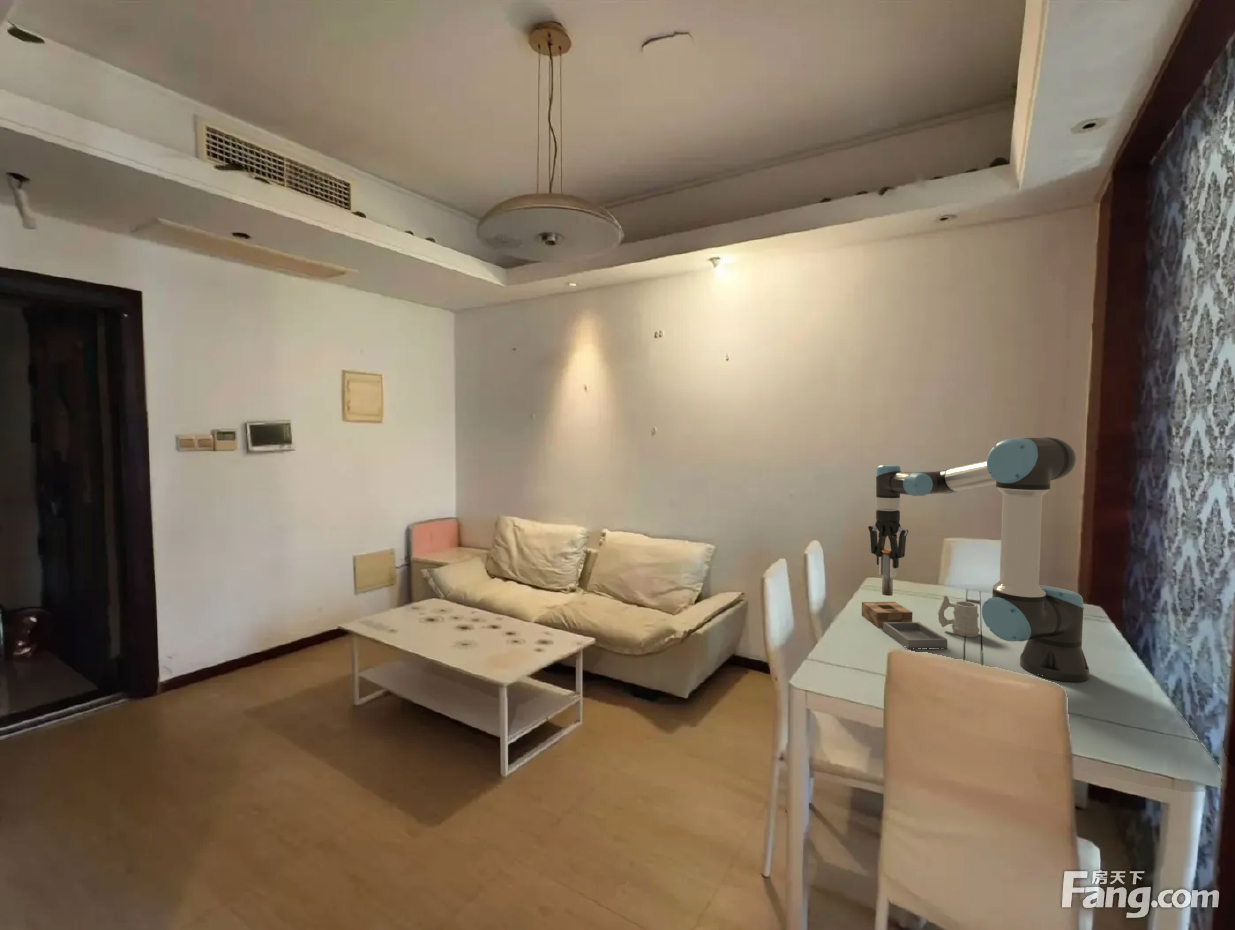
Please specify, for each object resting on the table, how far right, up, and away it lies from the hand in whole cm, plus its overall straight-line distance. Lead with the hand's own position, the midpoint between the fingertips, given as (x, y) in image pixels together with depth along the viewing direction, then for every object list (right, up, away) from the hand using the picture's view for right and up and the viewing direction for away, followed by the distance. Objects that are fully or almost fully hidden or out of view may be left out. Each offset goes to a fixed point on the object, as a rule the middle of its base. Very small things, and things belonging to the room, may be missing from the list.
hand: (887, 575), depth 195 cm
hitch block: (0, -16, +1) cm, 16 cm away
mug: (+18, -17, -11) cm, 27 cm away
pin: (0, -7, 0) cm, 7 cm away
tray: (0, -17, -17) cm, 24 cm away
